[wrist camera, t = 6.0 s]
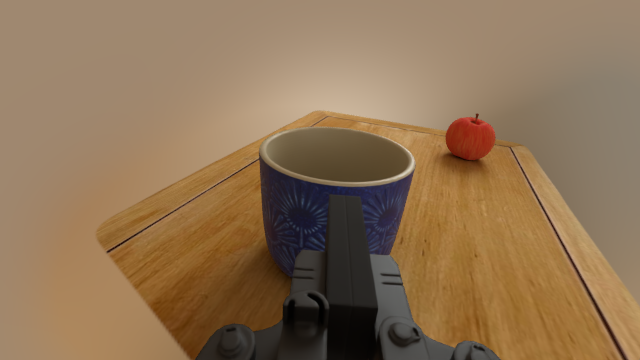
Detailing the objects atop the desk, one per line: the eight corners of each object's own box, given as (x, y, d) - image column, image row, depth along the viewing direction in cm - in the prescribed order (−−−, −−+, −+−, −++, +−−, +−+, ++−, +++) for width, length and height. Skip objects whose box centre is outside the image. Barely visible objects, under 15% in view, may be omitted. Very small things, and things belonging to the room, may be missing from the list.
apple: (436, 147, 61) (446, 106, 57) (478, 150, 60) (490, 110, 57) (448, 162, 53) (461, 117, 50) (495, 167, 53) (511, 122, 50)
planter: (343, 209, 37) (354, 121, 32) (419, 276, 28) (451, 166, 23) (243, 236, 31) (238, 133, 26) (298, 332, 22) (305, 200, 17)
